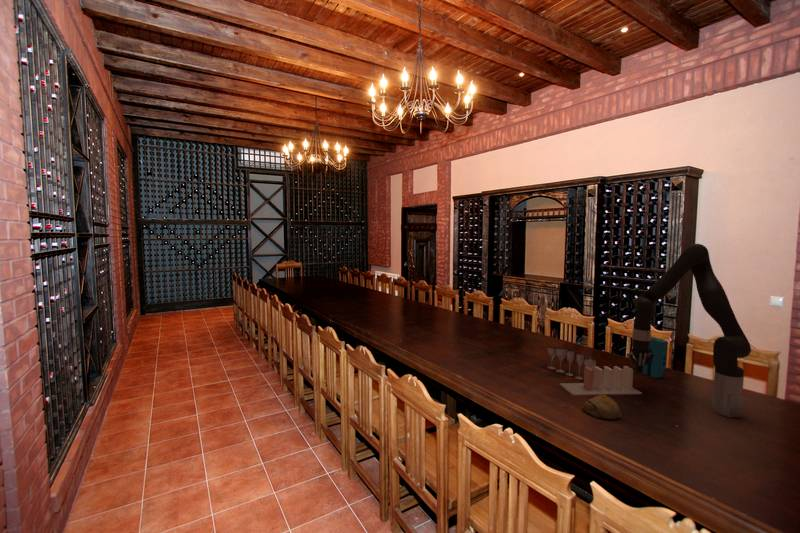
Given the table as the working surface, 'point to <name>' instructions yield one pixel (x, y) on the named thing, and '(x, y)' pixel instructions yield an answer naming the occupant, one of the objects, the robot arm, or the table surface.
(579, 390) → the grey rubber mat
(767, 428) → the table surface
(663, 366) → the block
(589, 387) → the terracotta domino
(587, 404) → the pastry
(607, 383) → the ivory domino
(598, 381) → the ivory domino
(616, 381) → the ivory domino
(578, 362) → the goblet set
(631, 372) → the ivory domino
